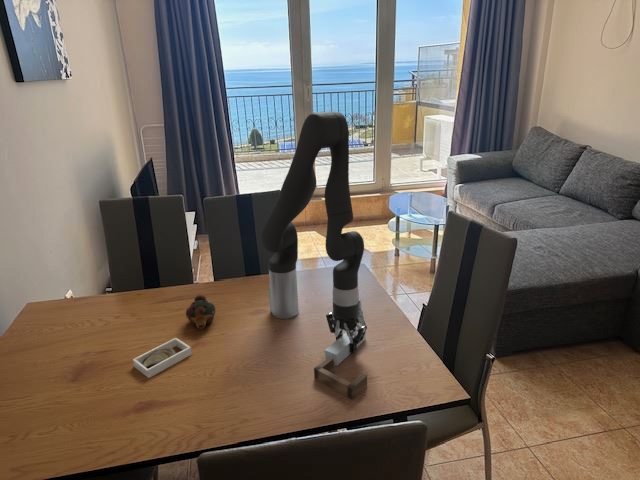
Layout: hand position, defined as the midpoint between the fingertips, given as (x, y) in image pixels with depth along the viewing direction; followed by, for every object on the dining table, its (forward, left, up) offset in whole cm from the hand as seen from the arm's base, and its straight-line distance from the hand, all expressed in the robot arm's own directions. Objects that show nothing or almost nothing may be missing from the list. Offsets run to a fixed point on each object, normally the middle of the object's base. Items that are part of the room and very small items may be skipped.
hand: (346, 348), depth 134 cm
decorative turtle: (-48, -18, -1) cm, 51 cm away
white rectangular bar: (0, 0, -1) cm, 1 cm away
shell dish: (-39, -38, 0) cm, 55 cm away
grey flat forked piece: (-12, +20, -1) cm, 23 cm away
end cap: (+8, -12, 0) cm, 14 cm away
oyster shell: (-39, -40, -1) cm, 55 cm away
